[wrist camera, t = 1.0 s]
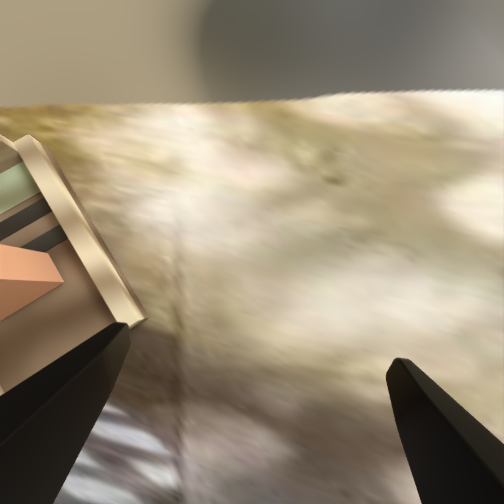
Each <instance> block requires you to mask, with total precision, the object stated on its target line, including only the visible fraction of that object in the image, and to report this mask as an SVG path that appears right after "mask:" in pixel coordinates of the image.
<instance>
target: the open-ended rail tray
mask: <svg viewBox="0 0 504 504" xmlns="http://www.w3.org/2000/svg"><path fill="white" fill-rule="evenodd" d="M0 244H2V245H7V246H12V247H17V248H23V249H28V250H33V251H38V252H44V253H48V254H49V256H50V258H51V260H52V261H53V263H54V265H55V267H56V268H57V270H58V272H59V274H60V275H61V277H62V279H63V281H64V283H62V284H60V285H59V286H57V287H56V288H54V289H52V290H51V291H49V292H47V293H46V294H44V295H42V296H41V297H39V298H37V299H36V300H34V301H33V302H31V303H29V304H28V305H26V306H24V307H23V308H21V309H19V310H18V311H16V312H14V313H13V314H11V315H10V316H8V317H6V318H5V319H3V320H1V321H0V395H2V394H4V393H5V392H7V391H8V390H10V389H11V388H13V387H14V386H16V385H17V384H19V383H20V382H22V381H24V380H25V379H27V378H28V377H30V376H31V375H33V374H34V373H36V372H37V371H39V370H41V369H42V368H44V367H45V366H47V365H48V364H50V363H51V362H53V361H54V360H56V359H57V358H59V357H61V356H62V355H64V354H65V353H67V352H68V351H70V350H71V349H73V348H74V347H76V346H78V345H79V344H81V343H82V342H84V341H85V340H87V339H88V338H90V337H91V336H93V335H94V334H96V333H98V332H99V331H101V330H102V329H104V328H105V327H107V326H108V325H110V324H111V323H113V322H125V323H127V324H128V325H129V330H130V329H132V328H134V327H135V326H137V325H138V324H140V323H141V322H143V321H144V320H146V319H147V318H149V316H148V315H147V313H146V311H145V310H144V308H143V306H142V304H141V303H140V301H139V299H138V298H137V296H136V294H135V293H134V291H133V289H132V288H131V286H130V284H129V283H128V281H127V279H126V278H125V276H124V274H123V273H122V271H121V269H120V268H119V266H118V264H117V263H116V261H115V259H114V258H113V256H112V254H111V253H110V251H109V249H108V248H107V246H106V244H105V243H104V241H103V239H102V238H101V236H100V234H99V233H98V231H97V229H96V228H95V226H94V224H93V222H92V221H91V219H90V217H89V216H88V214H87V212H86V211H85V209H84V207H83V206H82V204H81V202H80V201H79V199H78V197H77V196H76V194H75V192H74V191H73V189H72V187H71V186H70V184H69V182H68V181H67V179H66V177H65V176H64V174H63V172H62V171H61V169H60V167H59V166H58V164H57V162H56V161H55V159H54V157H53V156H52V154H51V152H50V151H49V149H48V148H47V147H45V146H44V145H42V144H41V143H40V142H38V141H37V140H36V139H34V138H33V137H31V136H30V135H29V134H28V135H26V136H24V137H22V138H20V139H19V140H17V141H15V142H11V141H10V140H8V139H6V138H5V137H3V136H2V135H0Z"/></svg>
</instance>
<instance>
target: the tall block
mask: <svg viewBox="0 0 504 504" xmlns="http://www.w3.org/2000/svg"><path fill="white" fill-rule="evenodd" d="M62 283H64V281H63V279H62V277H61V275H60V274H59V272H58V270H57V268H56V267H55V265H54V263H53V261H52V260H51V258H50V256H49V254H48V253H44V252H38V251H33V250H28V249H23V248H17V247H12V246H7V245H2V244H0V321H1V320H3V319H5V318H6V317H8V316H10V315H11V314H13V313H14V312H16V311H18V310H19V309H21V308H23V307H24V306H26V305H28V304H29V303H31V302H33V301H34V300H36V299H37V298H39V297H41V296H42V295H44V294H46V293H47V292H49V291H51V290H52V289H54V288H56V287H57V286H59V285H60V284H62Z"/></svg>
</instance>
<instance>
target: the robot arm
mask: <svg viewBox="0 0 504 504" xmlns="http://www.w3.org/2000/svg"><path fill="white" fill-rule="evenodd" d="M130 343H131V339H130V332H129V325H128V324H127V323H125V322H113V323H111V324H110V325H108V326H107V327H105V328H104V329H102V330H101V331H99V332H98V333H96V334H94V335H93V336H91V337H90V338H88V339H87V340H85V341H84V342H82V343H81V344H79V345H78V346H76V347H74V348H73V349H71V350H70V351H68V352H67V353H65V354H64V355H62V356H61V357H59V358H57V359H56V360H54V361H53V362H51V363H50V364H48V365H47V366H45V367H44V368H42V369H41V370H39V371H37V372H36V373H34V374H33V375H31V376H30V377H28V378H27V379H25V380H24V381H22V382H20V383H19V384H17V385H16V386H14V387H13V388H11V389H10V390H8V391H7V392H5V393H4V394H2V395H0V504H53V503H54V501H55V499H56V497H57V495H58V493H59V491H60V489H61V487H62V486H63V484H64V482H65V480H66V478H67V476H68V474H69V472H70V470H71V468H72V467H73V465H74V463H75V461H76V459H77V457H78V455H79V453H80V451H81V449H82V447H83V446H84V444H85V442H86V440H87V438H88V436H89V434H90V432H91V430H92V428H93V426H94V425H95V423H96V421H97V419H98V417H99V415H100V413H101V411H102V409H103V407H104V406H105V404H106V402H107V400H108V398H109V396H110V394H111V392H112V389H113V387H114V385H115V382H116V380H117V377H118V375H119V372H120V370H121V367H122V365H123V362H124V360H125V357H126V355H127V352H128V350H129V347H130ZM386 382H387V386H388V391H389V395H390V400H391V404H392V408H393V413H394V417H395V422H396V425H397V429H398V432H399V436H400V439H401V442H402V445H403V448H404V451H405V454H406V457H407V460H408V463H409V466H410V469H411V472H412V475H413V478H414V481H415V485H416V488H417V491H418V494H419V497H420V500H421V503H422V504H504V444H503V443H502V442H501V441H500V440H499V439H498V438H496V437H495V436H494V435H493V434H492V433H491V432H490V431H489V430H488V429H486V428H485V427H484V426H483V425H482V424H481V423H480V422H479V421H478V420H476V419H475V418H474V417H473V416H472V415H471V414H470V413H469V412H468V411H466V410H465V409H464V408H463V407H462V406H461V405H460V404H459V403H457V402H456V401H455V400H454V399H453V398H452V397H451V396H450V395H449V394H447V393H446V392H445V391H444V390H443V389H442V388H441V387H440V386H439V385H437V384H436V383H435V382H434V381H433V380H432V379H431V378H430V377H429V376H427V375H426V374H425V373H424V372H423V371H422V370H421V369H420V368H419V367H417V366H416V365H415V364H414V363H413V362H412V361H411V360H409V359H405V358H395V359H394V360H393V362H392V364H391V366H390V367H389V369H388V371H387V373H386Z"/></svg>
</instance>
